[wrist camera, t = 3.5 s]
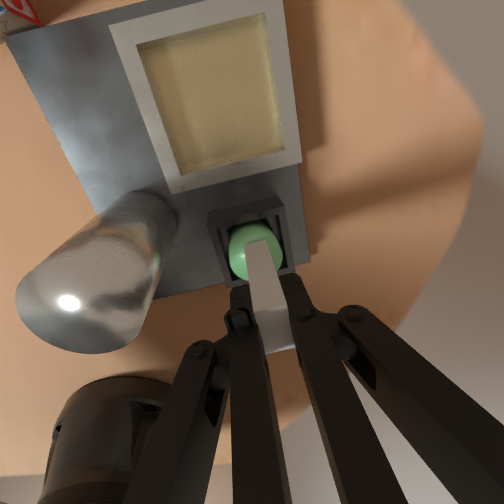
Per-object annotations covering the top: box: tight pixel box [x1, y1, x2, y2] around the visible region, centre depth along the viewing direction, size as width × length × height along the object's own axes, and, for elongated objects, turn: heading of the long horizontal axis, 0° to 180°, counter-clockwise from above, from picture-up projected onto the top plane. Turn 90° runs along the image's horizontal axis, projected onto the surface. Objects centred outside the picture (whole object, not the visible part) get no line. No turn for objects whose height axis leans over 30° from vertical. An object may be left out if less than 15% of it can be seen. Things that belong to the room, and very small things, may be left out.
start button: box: [228, 219, 283, 281], centre depth 19 cm, size 4×4×3 cm
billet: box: [15, 192, 177, 354], centre depth 16 cm, size 5×5×10 cm
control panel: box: [3, 0, 310, 300], centre depth 18 cm, size 15×19×4 cm
